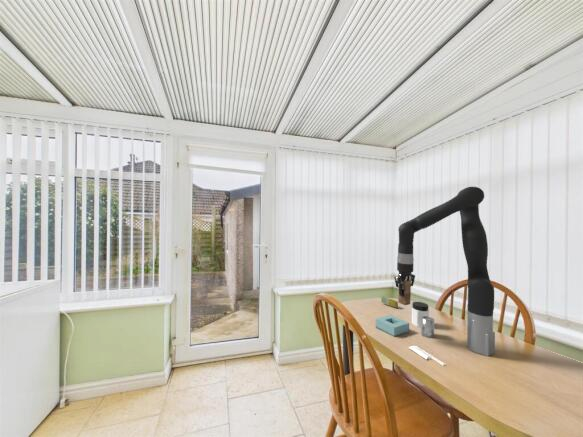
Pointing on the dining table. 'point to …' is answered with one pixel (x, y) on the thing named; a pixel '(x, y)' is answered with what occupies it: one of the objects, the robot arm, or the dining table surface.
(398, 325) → the socket block
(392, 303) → the medication box
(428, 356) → the white long flat piece
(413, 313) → the jar
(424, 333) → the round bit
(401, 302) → the square peg
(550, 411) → the dining table surface
